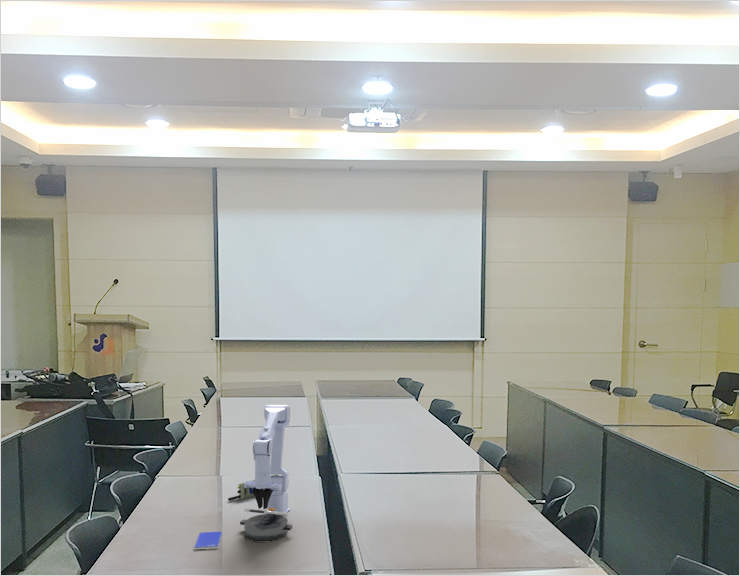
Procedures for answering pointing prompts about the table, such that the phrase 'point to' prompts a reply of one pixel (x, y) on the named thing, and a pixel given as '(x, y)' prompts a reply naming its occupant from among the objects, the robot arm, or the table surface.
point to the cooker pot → (265, 527)
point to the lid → (266, 511)
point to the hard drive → (208, 540)
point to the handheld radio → (244, 491)
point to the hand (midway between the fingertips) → (263, 507)
